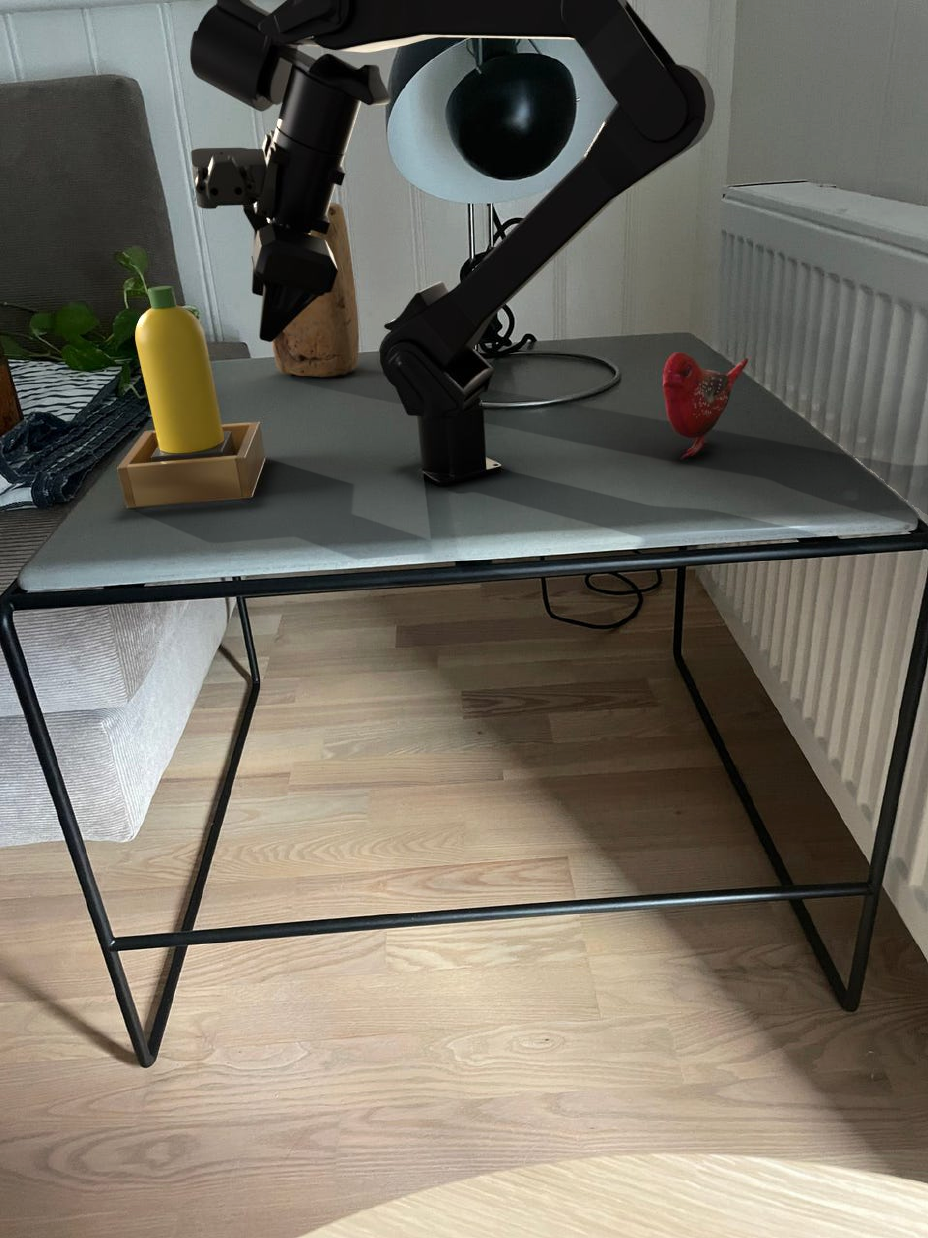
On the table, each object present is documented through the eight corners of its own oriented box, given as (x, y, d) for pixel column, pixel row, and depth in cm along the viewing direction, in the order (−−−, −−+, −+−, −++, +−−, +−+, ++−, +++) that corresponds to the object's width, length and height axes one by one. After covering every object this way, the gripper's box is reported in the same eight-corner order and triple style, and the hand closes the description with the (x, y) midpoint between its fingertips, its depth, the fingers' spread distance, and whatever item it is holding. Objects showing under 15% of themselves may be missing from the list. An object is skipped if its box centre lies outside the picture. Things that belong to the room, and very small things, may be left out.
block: (368, 365, 124) (350, 199, 114) (349, 380, 117) (328, 205, 108) (291, 365, 126) (267, 203, 117) (268, 380, 120) (241, 209, 110)
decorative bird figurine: (644, 474, 81) (647, 357, 77) (728, 419, 93) (736, 315, 89) (675, 479, 80) (680, 360, 75) (757, 423, 92) (766, 317, 87)
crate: (266, 465, 90) (259, 421, 88) (253, 505, 81) (244, 457, 79) (155, 474, 90) (144, 430, 87) (128, 516, 80) (116, 467, 78)
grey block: (238, 467, 87) (231, 430, 86) (228, 489, 82) (221, 451, 80) (172, 472, 87) (164, 435, 86) (159, 495, 82) (150, 456, 80)
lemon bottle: (232, 432, 85) (204, 280, 79) (212, 452, 80) (180, 292, 74) (173, 434, 86) (140, 283, 80) (149, 454, 81) (113, 295, 75)
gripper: (205, 69, 79) (168, 247, 88) (214, 140, 66) (169, 341, 75) (332, 118, 83) (285, 282, 92) (365, 192, 70) (305, 375, 79)
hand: (261, 316), depth 84 cm, fingers open, 9 cm apart
